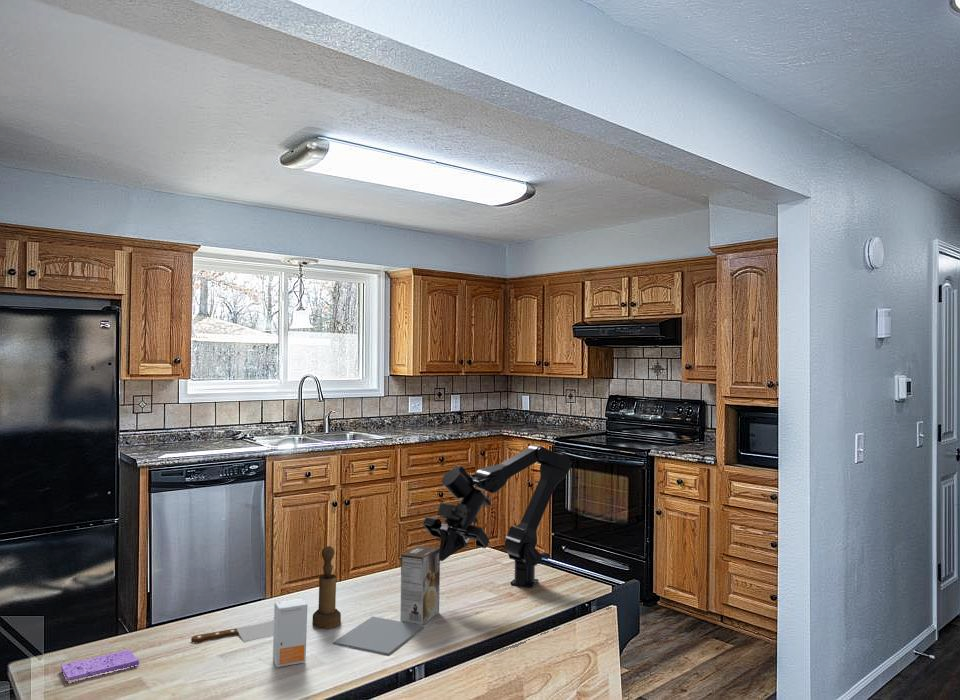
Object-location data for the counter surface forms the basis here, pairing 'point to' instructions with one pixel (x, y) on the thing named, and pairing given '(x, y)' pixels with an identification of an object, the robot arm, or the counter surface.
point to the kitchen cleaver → (240, 633)
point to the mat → (379, 635)
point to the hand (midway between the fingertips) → (439, 560)
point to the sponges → (99, 665)
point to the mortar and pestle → (327, 595)
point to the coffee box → (420, 584)
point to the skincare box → (290, 632)
